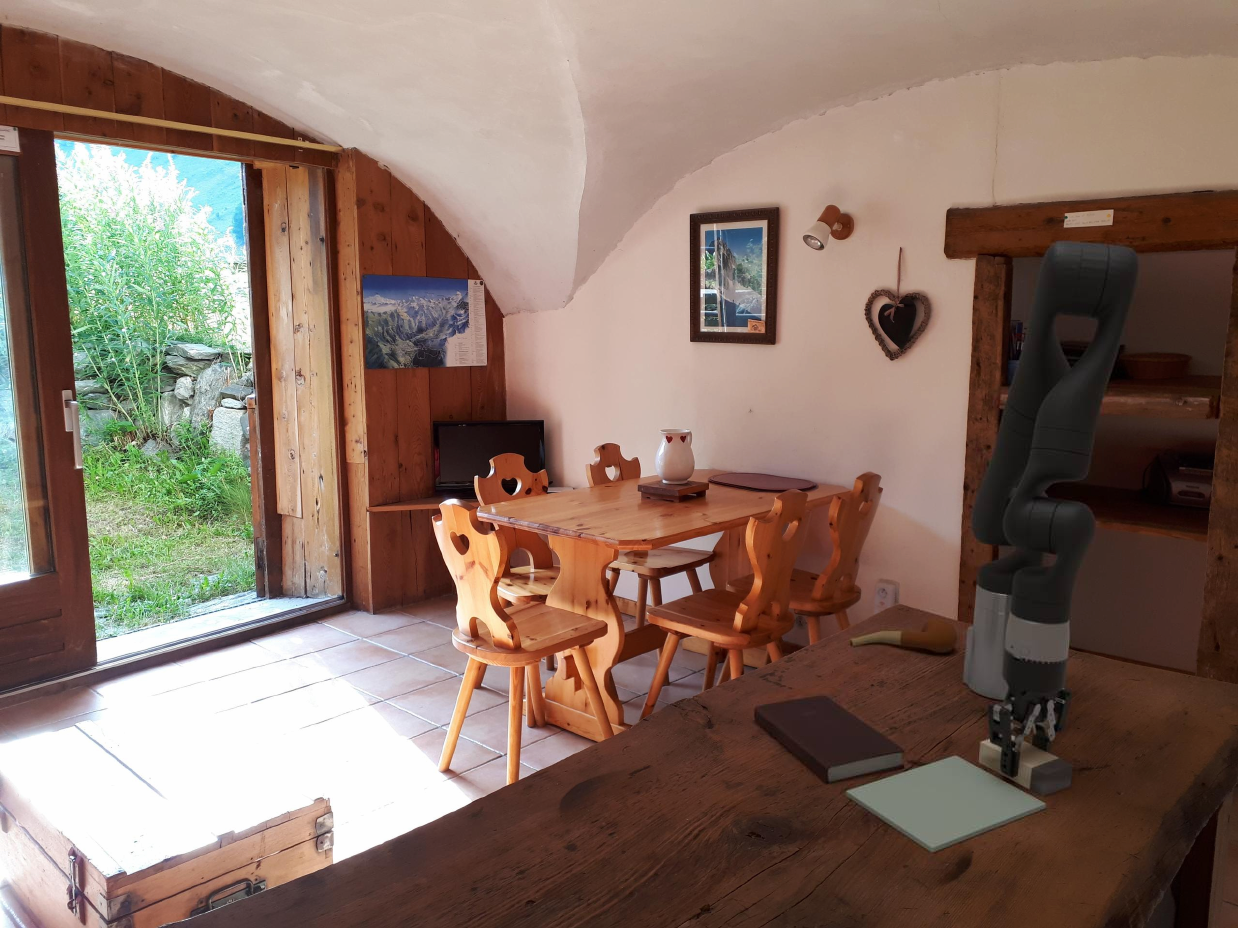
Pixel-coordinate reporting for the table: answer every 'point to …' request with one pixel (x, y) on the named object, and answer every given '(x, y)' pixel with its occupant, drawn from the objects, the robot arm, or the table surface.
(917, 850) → the table surface
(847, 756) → the book
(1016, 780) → the cream rectangular block
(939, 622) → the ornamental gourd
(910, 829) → the rubber mat
